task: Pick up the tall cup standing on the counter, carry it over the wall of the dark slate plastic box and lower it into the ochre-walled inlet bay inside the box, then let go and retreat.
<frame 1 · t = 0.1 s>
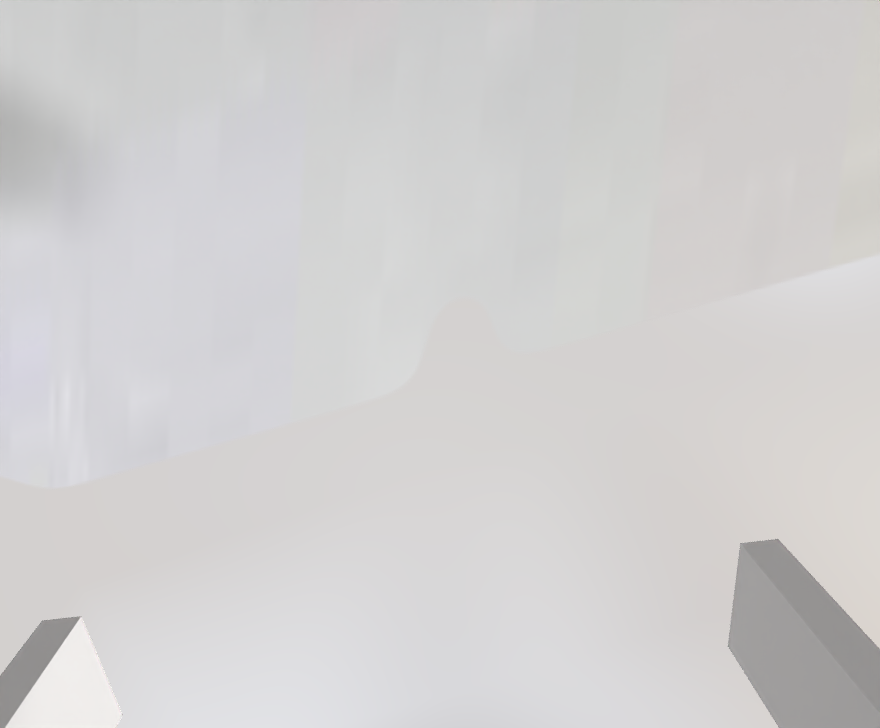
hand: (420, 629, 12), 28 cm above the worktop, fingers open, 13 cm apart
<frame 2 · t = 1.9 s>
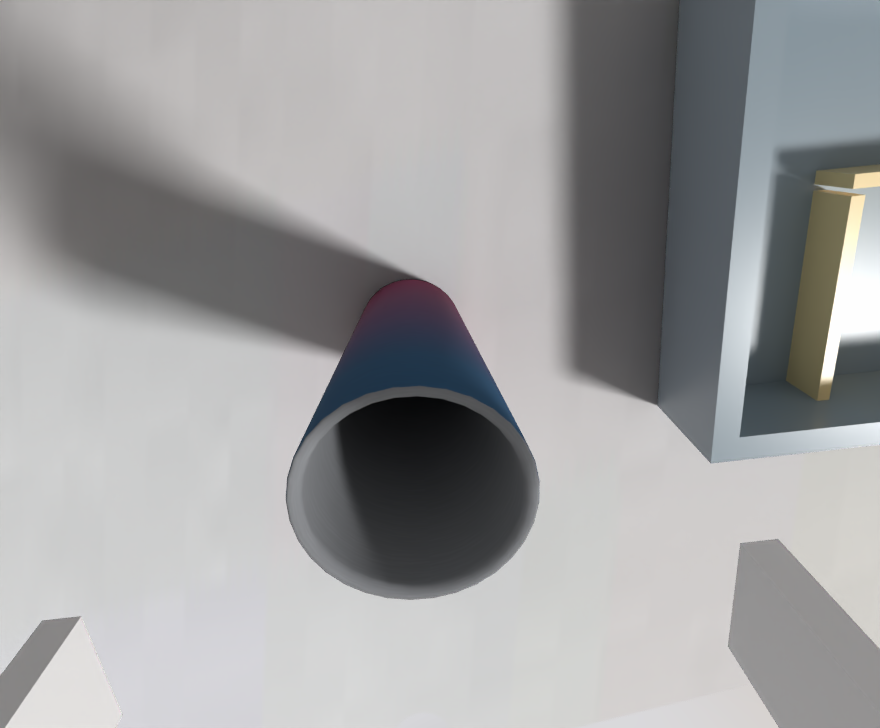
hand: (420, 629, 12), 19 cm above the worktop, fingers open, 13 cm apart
cup: (410, 326, 30), on the worktop
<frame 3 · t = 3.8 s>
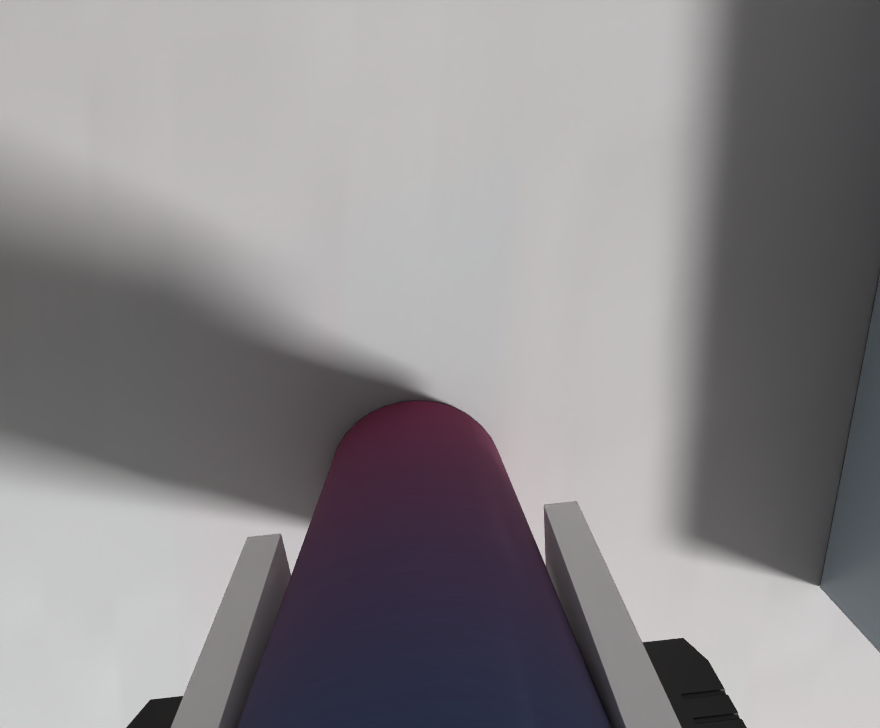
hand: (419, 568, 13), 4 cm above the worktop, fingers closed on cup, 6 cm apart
cup: (416, 472, 17), on the worktop, touching gripper
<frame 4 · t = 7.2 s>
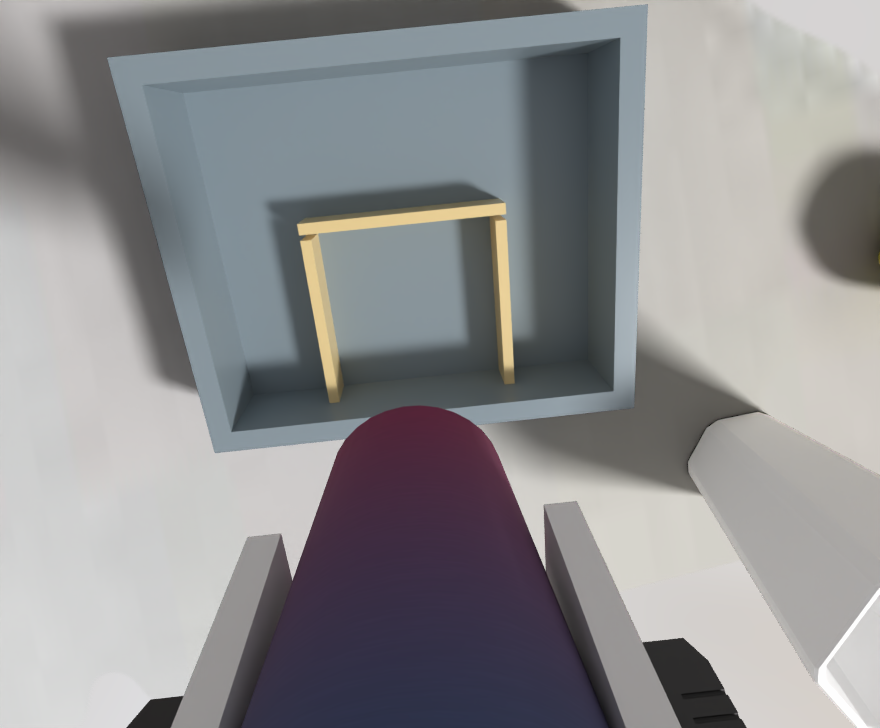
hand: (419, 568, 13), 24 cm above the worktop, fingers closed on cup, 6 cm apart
walled box: (405, 236, 35), on the worktop
cup: (417, 477, 17), point 20 cm above the worktop, touching gripper
cup 2: (736, 455, 42), on the worktop
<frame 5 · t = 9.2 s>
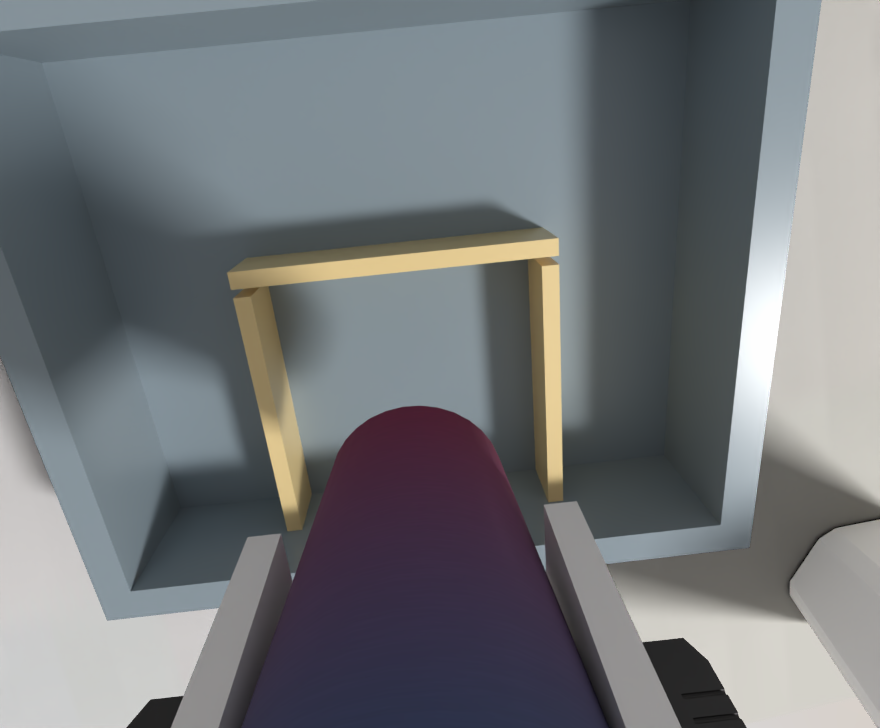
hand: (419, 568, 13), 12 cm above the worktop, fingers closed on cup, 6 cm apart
walled box: (400, 283, 23), on the worktop
cup: (417, 477, 17), point 8 cm above the worktop, touching gripper
cup 2: (854, 570, 30), on the worktop
when the fingers open (6 cm above the worktop, at t = 10.8 s): cup drops 1 cm, resting on walled box.
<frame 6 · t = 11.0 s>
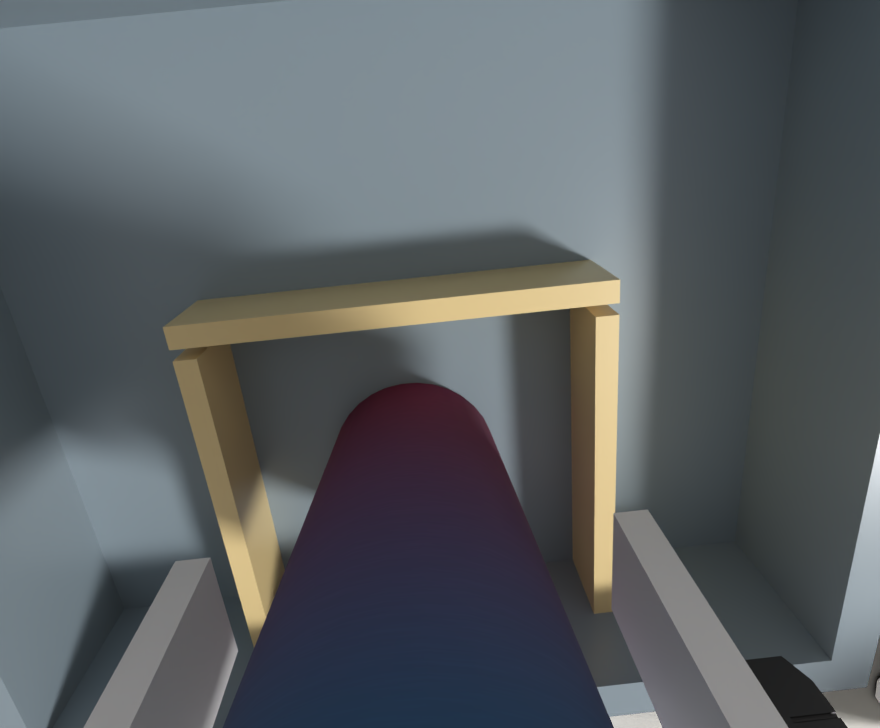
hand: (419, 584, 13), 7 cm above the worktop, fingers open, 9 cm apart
walled box: (402, 329, 18), on the worktop
cup: (415, 451, 19), point 1 cm above the worktop, touching walled box
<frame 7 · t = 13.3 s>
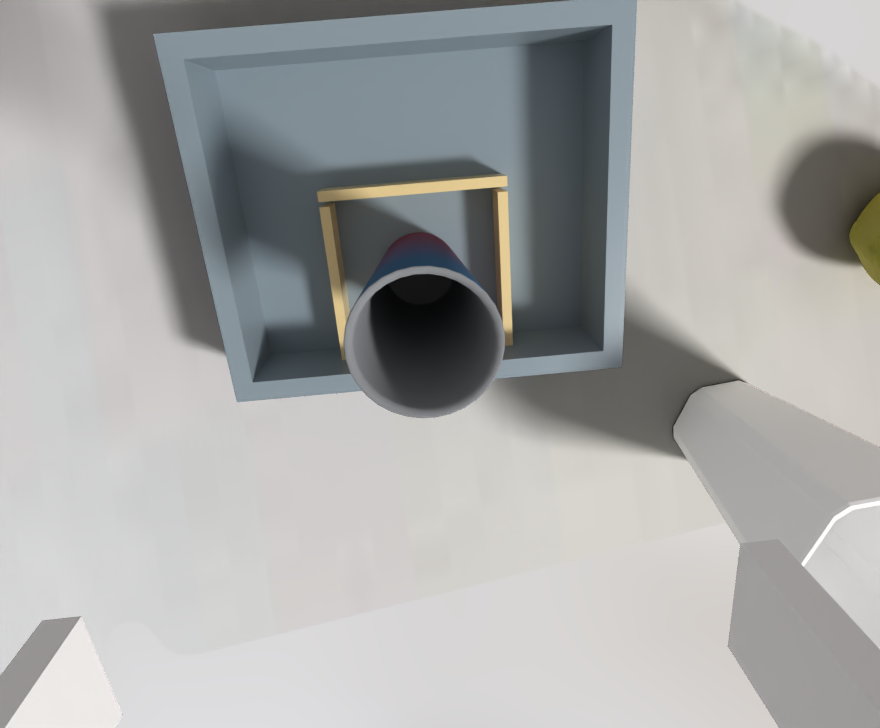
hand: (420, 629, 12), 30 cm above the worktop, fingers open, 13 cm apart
walled box: (414, 208, 38), on the worktop
cup: (419, 269, 38), point 1 cm above the worktop, touching walled box
cup 2: (718, 421, 45), on the worktop
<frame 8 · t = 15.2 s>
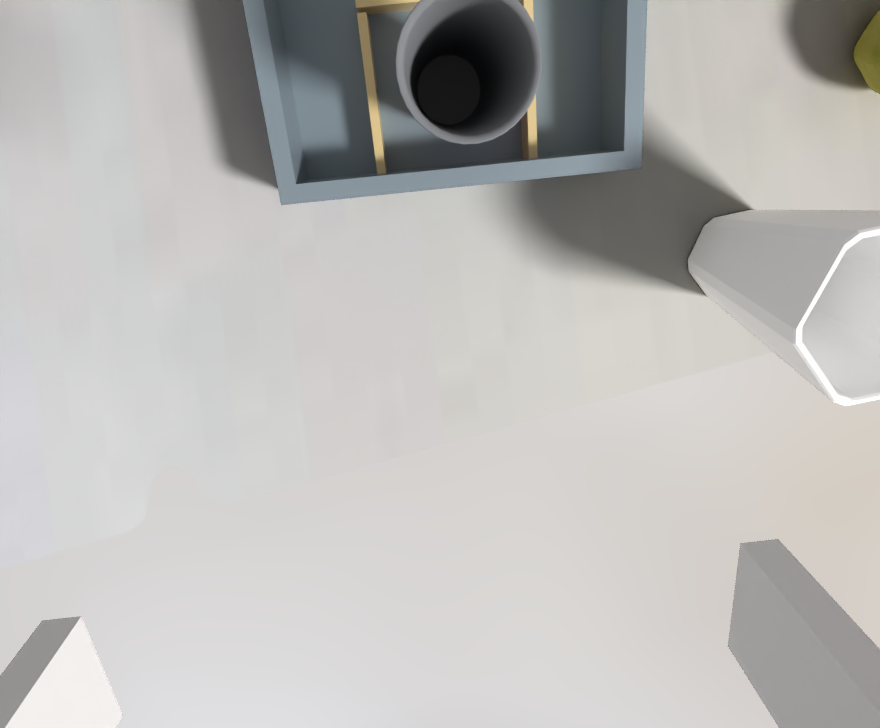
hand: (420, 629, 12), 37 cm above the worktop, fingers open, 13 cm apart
walled box: (443, 30, 40), on the worktop
cup: (448, 91, 41), point 1 cm above the worktop, touching walled box
cup 2: (730, 254, 47), on the worktop
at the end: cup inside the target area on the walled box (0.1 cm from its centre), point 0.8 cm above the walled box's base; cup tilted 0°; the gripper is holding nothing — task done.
